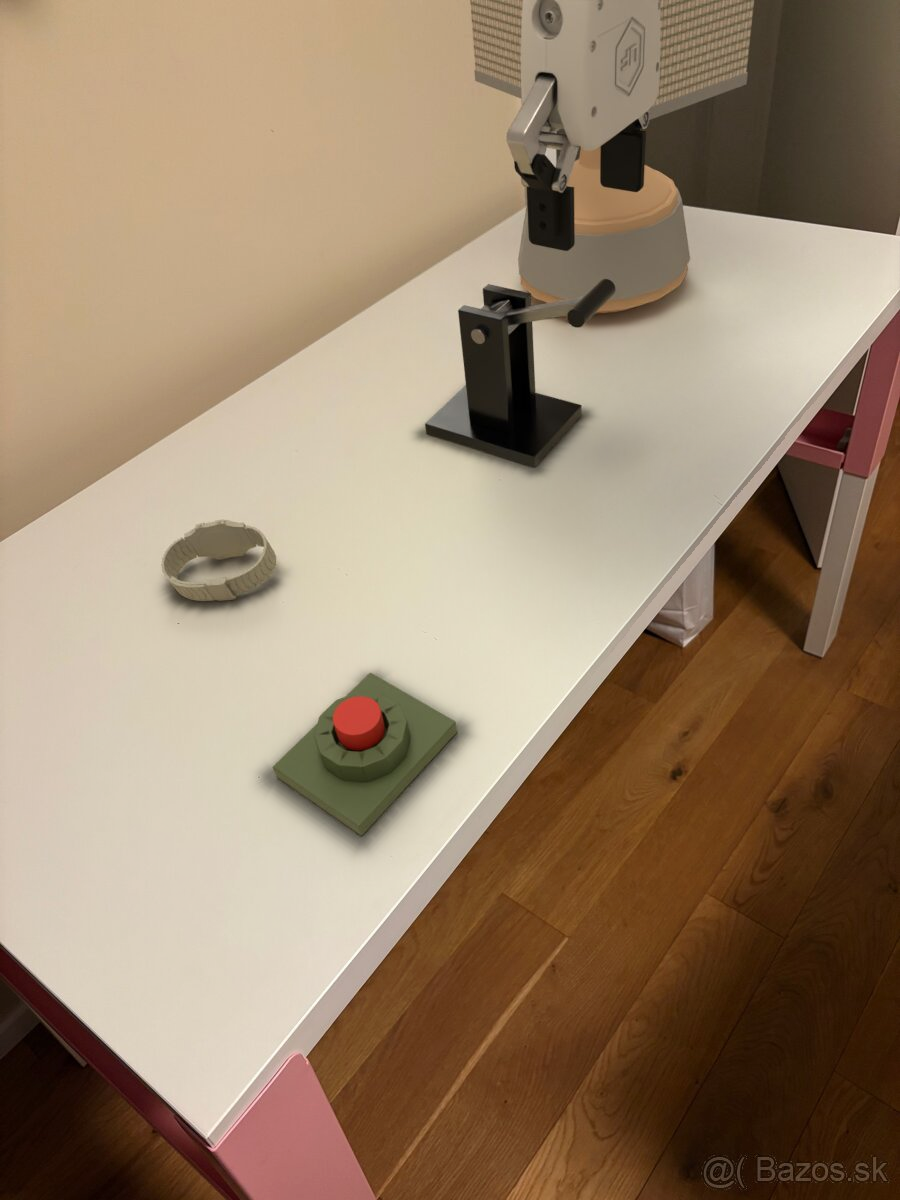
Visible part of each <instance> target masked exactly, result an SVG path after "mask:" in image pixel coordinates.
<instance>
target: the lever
mask: <svg viewBox="0 0 900 1200" xmlns="http://www.w3.org/2000/svg"><path fill="white" fill-rule="evenodd" d="M615 290H616V288H615V285H614V283H613V282H612V281H611V280H609V279H602V280H601V281H600V282H599V283H598V284H597V285H596V286H595V287H594V288H593V289H592V290H590V291H589V292H588V293H587V294H586V295H585V296H582V297H577V298H572V299H566V300H561V301H556V302H550V303H547V302H545V303H541V304H540V303H539V304H535V305H532V306H529V307H524V308H519V309H513V307H512V305H511V302H510V300H506V301H501V302H496V303H491V304H486V305H485V306H484V305H483V306H482V307H481V308H480V309H483V310H488V311H492V312H496V313H501V314H505V315H507V323H508V335H509V334H510V333H511V332H512V331H513V330H514V329H515V328H516V327H517V326H519V324H522V323H527V322H532V323H534V322H538V321H543V320H544V321H545V320H549V319H556V318H561V317H566V320H567V322H568V324H569V325H570V326H571V327H573V328H575V329H576V328H578V329H579V328H582V327H583V326H584V325H585V324H586V323H587V322H588V321H589V320H590V319H591V318H592V317H593V316H594V315H595V313H596V312H597V311H598V310H599V309H600V308H601V307H602V306H603V305H604V304H605V303H606V302H607V301H608V300H609V299H610V298H611V297H612V296H613V295H614V294H615Z"/></svg>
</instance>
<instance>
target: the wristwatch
mask: <svg viewBox="0 0 900 1200" xmlns="http://www.w3.org/2000/svg"><path fill="white" fill-rule="evenodd" d="M256 547H263V550H262V554H261V555H260V557H259V559H257V561H256V562H255V563H254V564H253V565H252V566H251V567H249V568H247V569H246V570H244V571H243V572H241V573H238V574H235V575H232V576H229V577H227V576H226V577H218V578H211V579H206V580H205V581H195V582H193V581H184V580H180V579H178V576H179V575H178V574H179V573H180V571H181V569H182V568H183V567H184V566H185V565H186V564H188V563H189V562H190V561H192V560H194V559H196V558H197V557H198V558H211V559H216V560H217V561H219V560H221V561H222V560H226V559H228V558H234V557H242V556H245V555H246V553H247V552H248V551H249V550H252V549H254V548H256ZM277 561H278V560H277V555H276V553H275V550H274V549H273V547H272V545H271V543H270V542H269V541H268V539H267V537H266V535H265V534H264V533H263V532H262V531H261V530H260V529H258V528H257V527H255V526H252V525H248V524H245V523H244V522H238V521H233V520H229V519H217V520H214V521H210V522H202V523H197V524H195V527H193V528H192V529H191V530H189V531H188V532H185V533H184V534H183V537H179V538H177V539H176V540H174V541H173V542H172V543H171V544H170V545H169V546H168V547H167V549H166V550H165V551H164V554H163V555H162V558H161V564H160V565H161V566H160V567H161V571H162V574H163V576H164V577H165V578H166V579H167V581H168V582H169V583H170V584H171V585H172V587H173V588H174V589H175V590H176V592H177V593H178V594H179V595H181V596H182V597H184V598H186V599H189V600H192V601H196V602H213V601H219V602H220V601H233V600H235V599H236V598H237V597H238V595H239V594H244V593H245V592H249V591H251V590H254V589H256V588H257V587H259V586H260V585H262V584H263V583H264V582H266V581H267V580H268V579H269V577H271V575H272V574H273V572H274V570H275V568H276V566H277Z"/></svg>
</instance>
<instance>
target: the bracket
mask: <svg viewBox="0 0 900 1200" xmlns="http://www.w3.org/2000/svg"><path fill="white" fill-rule="evenodd" d="M482 297H483V306H485V305H486V304H491V303H496V302H501V301H506V300H510V302H511V305H512V307H513V309H519V308H524V307H529V306H533V305H532V295H531V293H529V292H528V291H524V290H523V291H522V290H518V289H513V288H509V287H505V286H504V287H503V286H499V285H495V284H490V283H488V284H487V285H485V286H484V287H483V288H482ZM457 314H458V315H457V316H458V322H459V323H458V324H459V333H460V342H461V351H462V362H463V371H464V380H465V385H464V386H463V387H462V388H461V389H460V390H459V391H458V392H457V393H456V394H454V396H453V397H452V398H450V399H449V400H448V401H447V402H446V403H445V404H444V405H443V406H442V407H441V408H440V409H439V410H438V411H436V413H435V414H434V415H433V416H431V417H430V418H429V419H428V420H427V421H426V422H425V423H424V426H425V427H424V428H425V433H426V435H429V436H432V437H435V438H439V439H442V440H445V441H448V442H450V443H454V444H457V445H461V446H464V447H467V448H470V449H473V450H477V451H481V452H483V453H487V454H490V455H493V456H496V457H500V458H503V459H507V460H508V461H509V460H510V461H512V462H516V463H519V464H523V465H526V466H529V467H531V468H536V467H537V465H538V464H540V462H541V461H542V460H543V459H544V458H545V457H546V455H548V454H549V452H550V451H551V450H552V449H553V448H554V447H555V446H556V444H557V443H558V442H559V441H560V440H561V439H562V438H563V437H564V436H565V435H566V433H567V432H568V431H569V430H570V429H571V428H572V427H573V426H574V425H575V424H576V422H577V421H578V420H579V419H580V418H581V417H582V415H583V407H582V404H579V403H575V402H572V401H568V400H564V399H561V398H556V397H553V396H549V395H546V394H542V393H538V392H536V374H535V351H534V350H535V349H534V327H533V322H527V323H522V324H519V326H517V327H516V328H515V329H514V330H513V331H512V332H511V333H510V334H509V335H508V323H507V315H505V314H501V313H496V312H492V311H488V310H483V309H481V308H478V307H474V306H469V305H465V304H464V305H462V306H461V307H460V308H459V309H458V310H457Z"/></svg>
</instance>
